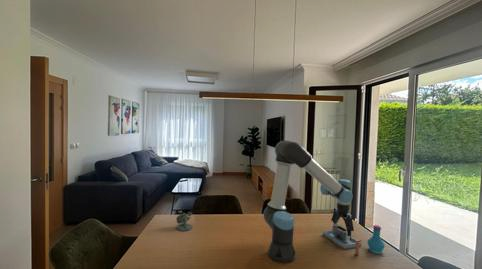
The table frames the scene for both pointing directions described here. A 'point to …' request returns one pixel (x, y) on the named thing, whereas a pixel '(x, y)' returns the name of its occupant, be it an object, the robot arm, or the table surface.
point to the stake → (357, 246)
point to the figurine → (182, 219)
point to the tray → (339, 242)
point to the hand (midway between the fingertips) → (341, 236)
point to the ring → (339, 232)
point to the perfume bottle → (376, 241)
